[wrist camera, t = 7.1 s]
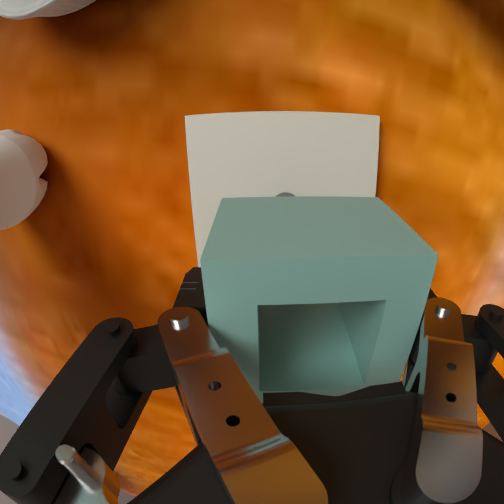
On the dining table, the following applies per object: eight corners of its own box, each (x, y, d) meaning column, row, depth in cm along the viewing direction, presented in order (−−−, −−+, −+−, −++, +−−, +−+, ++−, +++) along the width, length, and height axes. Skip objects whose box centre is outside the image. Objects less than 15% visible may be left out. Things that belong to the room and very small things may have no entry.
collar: (377, 197, 12) (438, 254, 7) (359, 321, 14) (389, 403, 10) (221, 198, 12) (199, 259, 8) (231, 326, 15) (222, 414, 10)
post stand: (374, 115, 19) (445, 129, 11) (361, 276, 24) (400, 358, 16) (188, 115, 19) (139, 125, 11) (203, 280, 24) (179, 366, 16)
